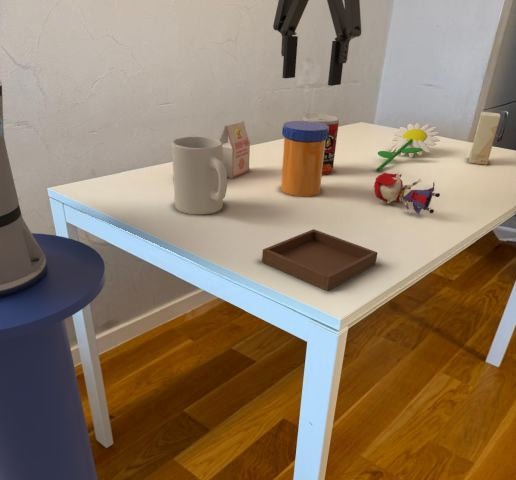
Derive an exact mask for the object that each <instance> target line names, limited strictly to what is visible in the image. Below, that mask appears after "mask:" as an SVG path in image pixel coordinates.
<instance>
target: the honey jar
mask: <svg viewBox="0 0 516 480" xmlns="http://www.w3.org/2000/svg"><path fill="white" fill-rule="evenodd" d="M283 137H284V136H283ZM325 141H326V140H323V141H314V142H309V141H297V140H292V139H288V138H285V137H284V139H283V150H282V151H283V152H282V164H281V165H282V167H281V180H280V190H281V192H282V193H284V194H286V195H290V196H294V197H314V196H317V195H319V194H320V193H321V186H322V185H321V184H322V178H323V177H322V176H323V175H322V168H323V159H324V150H325Z"/></svg>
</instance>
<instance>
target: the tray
mask: <svg viewBox="0 0 516 480" xmlns="http://www.w3.org/2000/svg"><path fill="white" fill-rule="evenodd" d="M378 253H379V252H377V251H375V250H373V249H369V248H367V247H364V246H361V245H359V244H356V243H353V242H351V241H349V240H345V239H342V238H339V237H337V236H334V235H331V234H329V233H326V232H323V231H320V230H317V229H314V228H312V229H311V230H308V231H305V232H303V233H300V234H298V235H295V236H292V237H290V238H287V239H286V240H285V239H284V240H282V241H281V242H278V243H275V244H273V245H270V246H268V247H265V248H263V249H262V257H261V263H263V264H266V265H267V266H269V267H272V268H274V269H276V270H279V271H281V272H283V273H285V274H287V275H290V276H292V277H295V278H297V279H300V280H301V281H303V282H305V283H308V284H310V285H313V286H315V287H317V288H320V289H322V290H324V291H326V292H329V291H330V290H332V289H334V288H336V287H337V286H339V285H341V284H343V283H345V282H347V281H348V280H351V279H353V278H354V277H357V276H358V275H360V274H361V273H363V272H365V271H367V270H369V269H371V268H373V267H374V266H376V265H377V259H378Z"/></svg>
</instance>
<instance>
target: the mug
mask: <svg viewBox="0 0 516 480" xmlns="http://www.w3.org/2000/svg"><path fill="white" fill-rule="evenodd" d="M171 152H172V153H171V155H172V173H173V192H174V193H173V195H174V207H175V209H176V210H177V211H179V212H181V213H184V214H188V215H199V216H200V215H201V216H202V215H209V214H210V215H211V214H214V213H215V214H216V213H217V212H219V211H221V210H222V209H223V204H224V202H223V201H224V199H225V197H226V195H227V190H228V189H227V188H228V177H227V175H226V169H225V166H224V164H223V163H222V142H221V141H220V139H217V138H213V137H208V136H184V137H179V138H175V139H174V140H172V142H171Z"/></svg>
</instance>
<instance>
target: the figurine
mask: <svg viewBox="0 0 516 480" xmlns="http://www.w3.org/2000/svg"><path fill="white" fill-rule="evenodd" d="M402 175H403V174H402V173H401V174H400V173H399V172H397V173H388V172H383V173H381V174H379V175H378V176H377V177H375V181H374V183H373V189H374V194H375V196H376V198H378V199H379V200H381V201H382V202H383V201H384V202H386V204H387V205H390V204H391V203H392V202H394V201H397V202H398V203H400V202H401V201H402V203H403V204H404V206H405V208H406V210H407V214H411V213H412V211H411V210H410V207H409V203H412V208H413V210H414V212H415V213H416V214H417V216H419V215H420V213H421V211H422V210H423V211H427V212H429V214H434V212H435V209H431V208H430V207H429V206H430V204H431V201H432V198H433V197H435V198H440V196H441V195H440V193H438V192H435V186H436V185H435V182H433V183H432V187H431V188H428V189H412V188H413V187H414V186H416V185H417V184H419V183H422V179H421V178H419V179H418V180H417V181H414V182H412V183H410V184H404V183H403V180H402V179H401V177H402Z"/></svg>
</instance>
